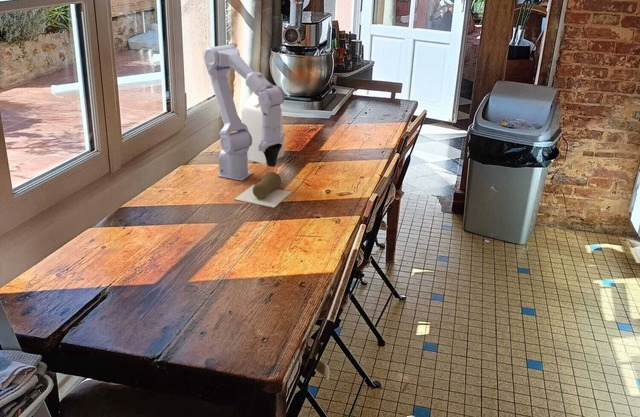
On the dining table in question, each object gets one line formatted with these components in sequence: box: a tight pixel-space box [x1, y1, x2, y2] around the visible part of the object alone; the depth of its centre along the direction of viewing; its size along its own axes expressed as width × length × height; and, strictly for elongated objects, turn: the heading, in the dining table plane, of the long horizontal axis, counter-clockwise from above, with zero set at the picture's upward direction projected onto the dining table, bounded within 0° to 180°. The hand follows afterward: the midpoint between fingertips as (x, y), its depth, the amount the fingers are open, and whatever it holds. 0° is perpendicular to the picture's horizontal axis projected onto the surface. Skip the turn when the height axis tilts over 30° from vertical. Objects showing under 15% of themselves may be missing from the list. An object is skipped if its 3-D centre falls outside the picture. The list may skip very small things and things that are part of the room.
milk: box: [240, 91, 285, 165], centre depth 227 cm, size 12×12×26 cm
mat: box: [233, 184, 292, 209], centre depth 199 cm, size 14×13×1 cm
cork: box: [253, 171, 282, 199], centre depth 199 cm, size 6×6×11 cm
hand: (271, 165), depth 200 cm, fingers closed
